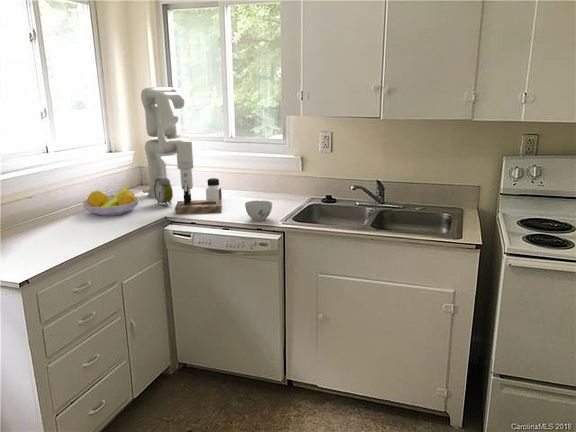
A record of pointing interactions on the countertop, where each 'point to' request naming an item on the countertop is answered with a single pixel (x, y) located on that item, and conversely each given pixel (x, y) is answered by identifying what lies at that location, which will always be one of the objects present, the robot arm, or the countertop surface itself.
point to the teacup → (258, 209)
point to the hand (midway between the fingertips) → (187, 201)
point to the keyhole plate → (199, 207)
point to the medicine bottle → (213, 190)
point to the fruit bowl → (110, 202)
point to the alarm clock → (163, 190)
